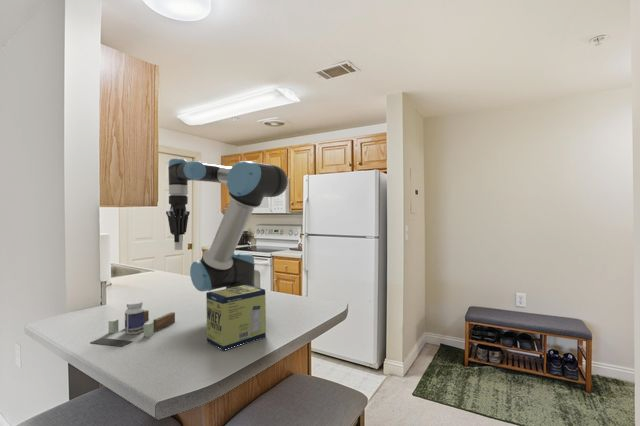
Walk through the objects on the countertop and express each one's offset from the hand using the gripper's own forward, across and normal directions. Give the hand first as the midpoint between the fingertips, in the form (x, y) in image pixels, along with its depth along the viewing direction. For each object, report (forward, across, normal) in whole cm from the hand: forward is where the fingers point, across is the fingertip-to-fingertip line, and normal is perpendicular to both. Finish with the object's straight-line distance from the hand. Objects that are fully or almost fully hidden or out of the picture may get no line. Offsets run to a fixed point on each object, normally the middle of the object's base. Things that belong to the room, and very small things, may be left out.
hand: (178, 249), depth 141 cm
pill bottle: (+25, +30, +5) cm, 39 cm away
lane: (+24, +23, +6) cm, 34 cm away
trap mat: (+24, +40, +5) cm, 47 cm away
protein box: (+25, +29, +42) cm, 57 cm away
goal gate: (+24, +32, +5) cm, 41 cm away
